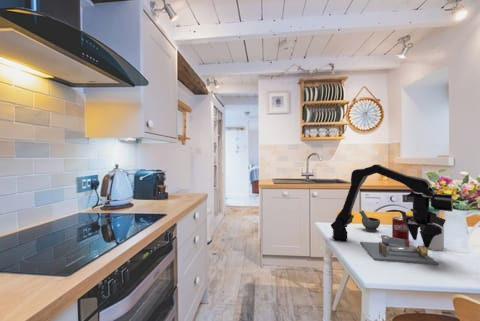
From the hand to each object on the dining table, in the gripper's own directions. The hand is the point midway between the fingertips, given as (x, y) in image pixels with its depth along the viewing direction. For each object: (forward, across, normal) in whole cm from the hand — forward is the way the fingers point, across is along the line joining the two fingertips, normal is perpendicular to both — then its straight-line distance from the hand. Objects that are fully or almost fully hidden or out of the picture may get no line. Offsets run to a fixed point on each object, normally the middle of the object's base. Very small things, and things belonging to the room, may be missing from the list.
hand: (420, 243), depth 103 cm
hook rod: (+6, 0, +6) cm, 8 cm away
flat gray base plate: (+7, +5, +8) cm, 12 cm away
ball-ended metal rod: (+5, +11, +6) cm, 14 cm away
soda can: (+7, +23, -2) cm, 24 cm away
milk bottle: (+7, +15, -13) cm, 21 cm away
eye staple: (+7, 0, +15) cm, 16 cm away
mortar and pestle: (+7, +39, +8) cm, 41 cm away
